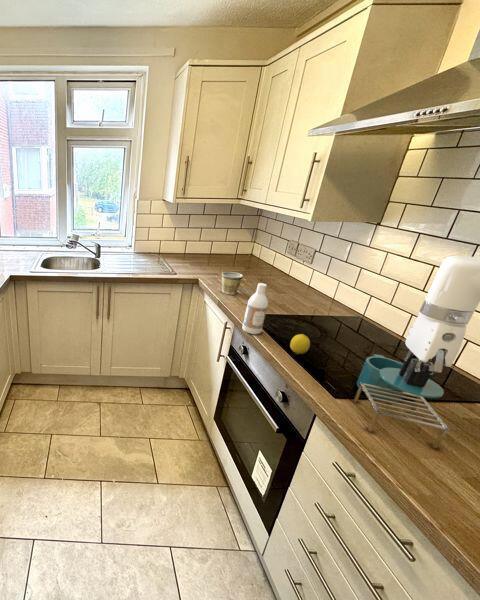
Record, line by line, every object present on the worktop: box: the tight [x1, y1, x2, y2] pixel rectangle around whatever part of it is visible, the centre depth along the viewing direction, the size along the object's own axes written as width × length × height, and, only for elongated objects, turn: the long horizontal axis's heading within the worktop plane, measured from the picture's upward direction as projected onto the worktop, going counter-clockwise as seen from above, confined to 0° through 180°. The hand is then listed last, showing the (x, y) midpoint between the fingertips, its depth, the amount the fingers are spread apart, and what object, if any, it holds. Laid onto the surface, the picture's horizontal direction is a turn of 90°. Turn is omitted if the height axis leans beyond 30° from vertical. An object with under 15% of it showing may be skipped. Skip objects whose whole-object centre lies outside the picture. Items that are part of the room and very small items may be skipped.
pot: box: [356, 353, 406, 403], centre depth 92 cm, size 10×16×8 cm, turn 155°
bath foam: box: [241, 282, 269, 335], centre depth 124 cm, size 7×7×20 cm
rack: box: [352, 383, 451, 449], centre depth 80 cm, size 13×13×6 cm
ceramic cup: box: [221, 271, 248, 296], centre depth 165 cm, size 13×10×10 cm
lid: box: [379, 359, 445, 399], centre depth 76 cm, size 11×11×7 cm
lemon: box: [289, 333, 311, 355], centre depth 110 cm, size 6×6×8 cm
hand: (410, 380), depth 76 cm, fingers closed on lid, 3 cm apart
